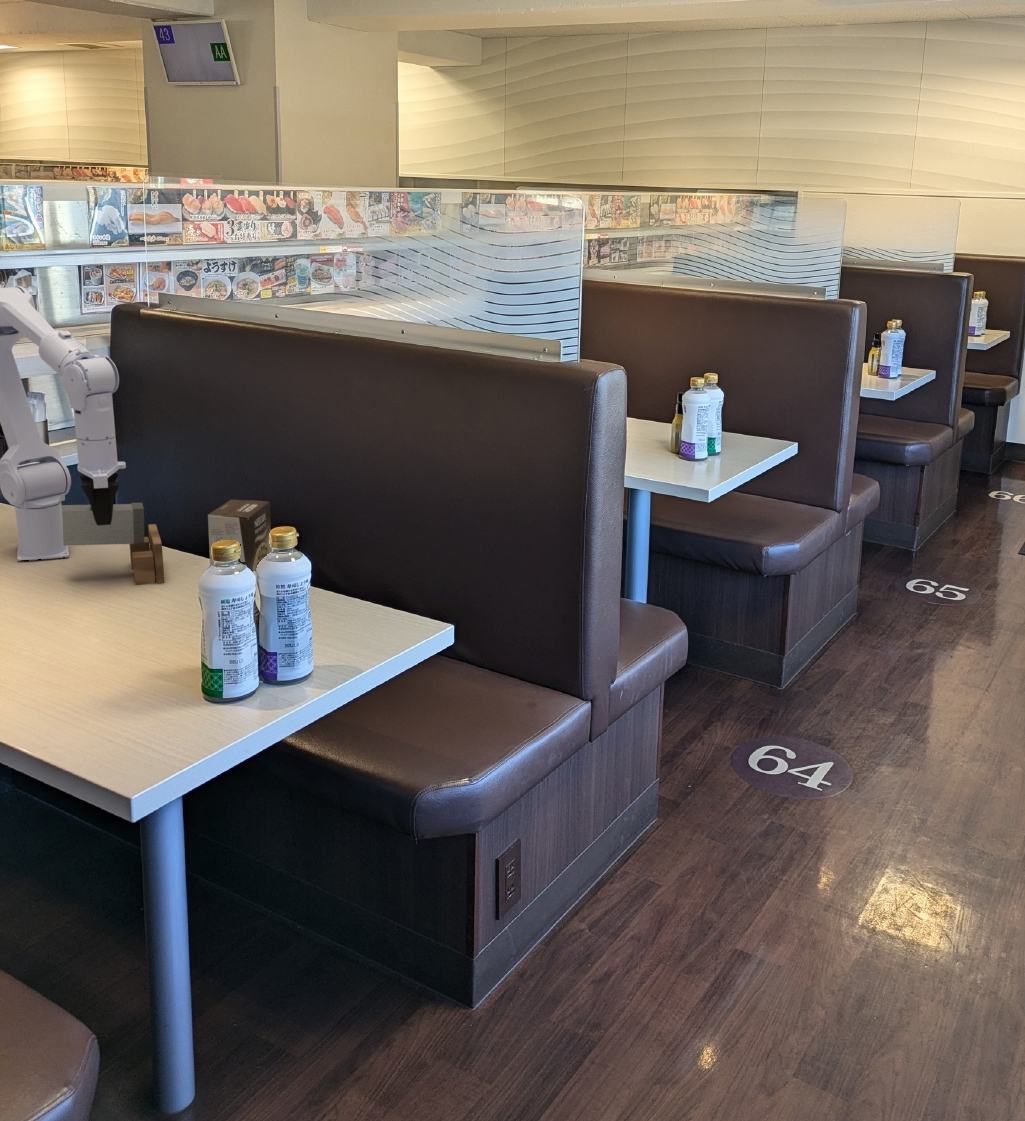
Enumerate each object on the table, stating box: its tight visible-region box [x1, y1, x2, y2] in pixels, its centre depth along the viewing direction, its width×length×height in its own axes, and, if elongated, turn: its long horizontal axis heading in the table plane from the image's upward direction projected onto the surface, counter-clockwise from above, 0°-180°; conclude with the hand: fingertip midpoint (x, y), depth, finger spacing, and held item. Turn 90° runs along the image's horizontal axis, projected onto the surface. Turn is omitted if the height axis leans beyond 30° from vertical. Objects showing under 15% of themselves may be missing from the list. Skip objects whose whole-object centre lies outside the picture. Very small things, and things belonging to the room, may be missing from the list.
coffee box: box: [207, 499, 272, 571], centre depth 166 cm, size 9×6×16 cm
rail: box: [61, 502, 145, 547], centre depth 177 cm, size 4×12×6 cm, turn 111°
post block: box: [128, 523, 166, 585], centre depth 182 cm, size 11×4×6 cm, turn 22°
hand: (103, 520), depth 177 cm, fingers closed on rail, 3 cm apart
